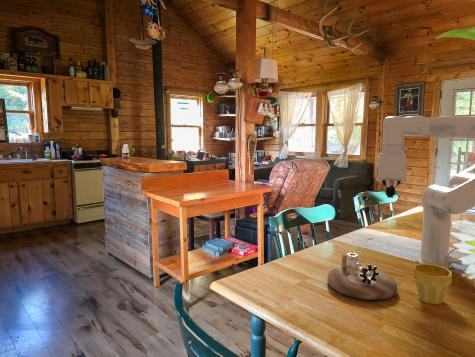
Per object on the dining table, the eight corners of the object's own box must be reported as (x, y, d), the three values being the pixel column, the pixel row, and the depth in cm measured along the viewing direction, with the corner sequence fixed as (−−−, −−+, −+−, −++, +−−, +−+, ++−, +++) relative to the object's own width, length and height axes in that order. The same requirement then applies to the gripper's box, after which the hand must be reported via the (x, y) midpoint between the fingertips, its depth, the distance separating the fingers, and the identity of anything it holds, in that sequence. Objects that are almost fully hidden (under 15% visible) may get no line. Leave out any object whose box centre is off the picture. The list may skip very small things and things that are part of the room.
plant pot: (407, 299, 104) (409, 270, 103) (416, 288, 112) (418, 260, 110) (445, 311, 97) (448, 279, 96) (452, 298, 105) (455, 269, 103)
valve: (340, 271, 119) (360, 285, 108) (340, 253, 118) (361, 266, 107) (356, 269, 121) (378, 283, 109) (357, 251, 120) (379, 264, 108)
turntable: (369, 267, 126) (370, 251, 125) (412, 295, 105) (414, 275, 104) (316, 273, 121) (316, 256, 120) (350, 303, 100) (351, 282, 99)
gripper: (411, 149, 129) (408, 196, 131) (370, 149, 132) (367, 194, 134) (417, 150, 121) (413, 199, 124) (373, 149, 124) (371, 198, 127)
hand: (389, 197), depth 129 cm, fingers closed
